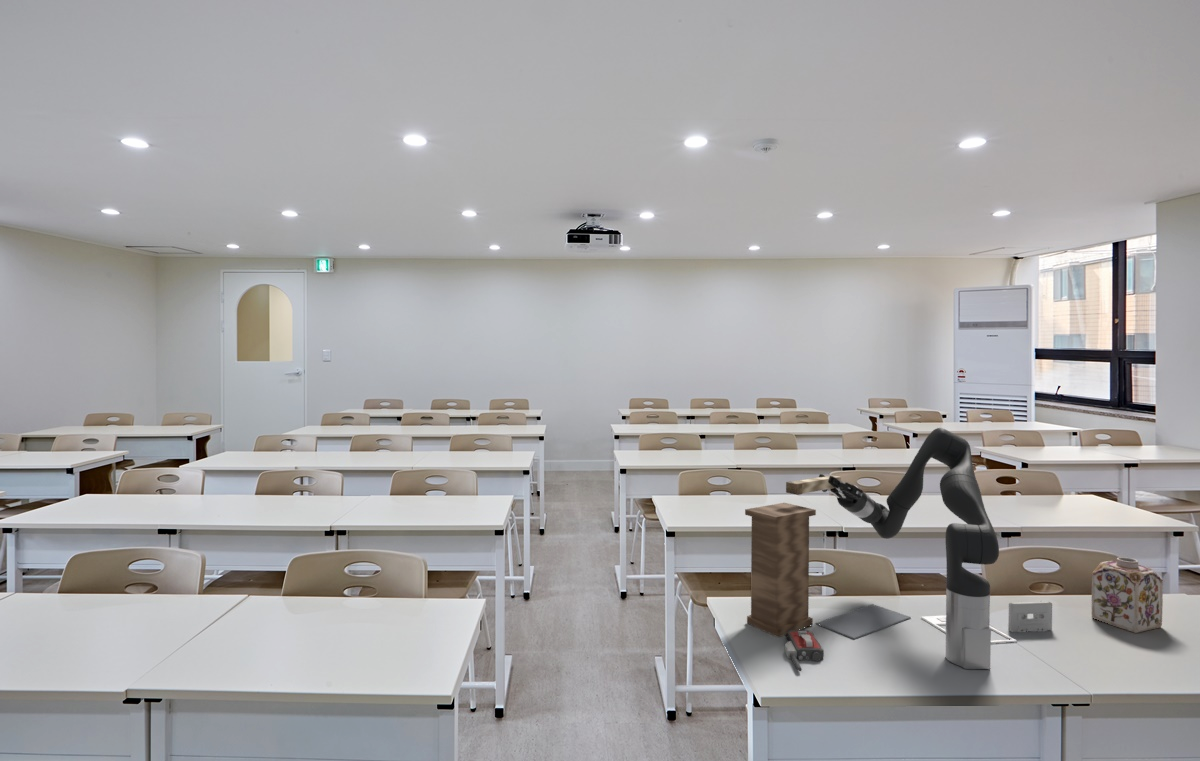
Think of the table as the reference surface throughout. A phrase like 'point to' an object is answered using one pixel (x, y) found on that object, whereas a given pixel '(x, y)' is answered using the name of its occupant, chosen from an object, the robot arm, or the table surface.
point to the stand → (780, 568)
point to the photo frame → (941, 620)
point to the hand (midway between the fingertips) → (825, 478)
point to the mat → (863, 621)
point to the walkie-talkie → (802, 647)
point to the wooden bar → (809, 485)
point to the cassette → (1035, 623)
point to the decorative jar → (1127, 595)
